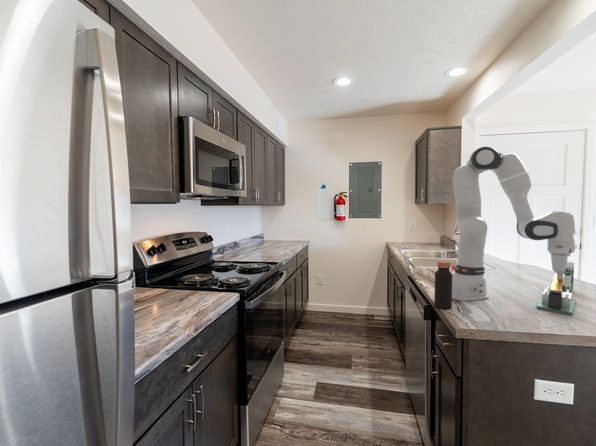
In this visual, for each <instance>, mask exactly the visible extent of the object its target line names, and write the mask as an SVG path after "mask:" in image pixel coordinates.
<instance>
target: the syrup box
mask: <svg viewBox="0 0 596 446" xmlns="http://www.w3.org/2000/svg"><path fill="white" fill-rule="evenodd" d="M574 271H575V262H573V261H571V260H567V266H566V268H565V271H564V273H563V275H564V280H563V285H565V291H567V290H569V291H574V279H575V278H574V276H575V275H574V273H575V272H574ZM555 274H557V272H554V275H555Z"/></svg>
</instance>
